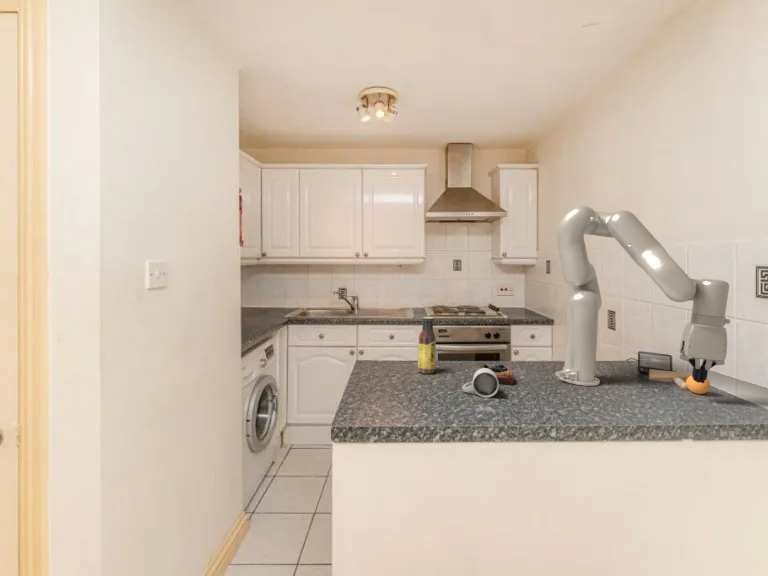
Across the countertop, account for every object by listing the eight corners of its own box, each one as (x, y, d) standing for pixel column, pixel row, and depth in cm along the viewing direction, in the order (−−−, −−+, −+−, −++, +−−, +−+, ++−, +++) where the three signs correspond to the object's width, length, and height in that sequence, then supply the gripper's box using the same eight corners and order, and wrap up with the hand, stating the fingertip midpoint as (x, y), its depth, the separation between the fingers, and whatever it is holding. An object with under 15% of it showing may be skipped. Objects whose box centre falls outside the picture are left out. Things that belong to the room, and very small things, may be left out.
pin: (688, 382, 125) (678, 375, 133) (679, 384, 125) (671, 377, 133) (691, 389, 124) (681, 382, 132) (683, 391, 125) (674, 384, 133)
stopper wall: (698, 385, 131) (698, 375, 131) (650, 380, 135) (651, 370, 135) (695, 383, 133) (696, 373, 133) (648, 378, 137) (649, 369, 137)
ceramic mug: (496, 390, 119) (497, 366, 119) (498, 398, 111) (499, 373, 111) (462, 387, 121) (462, 363, 121) (461, 395, 113) (462, 370, 113)
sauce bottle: (434, 375, 134) (436, 319, 132) (416, 373, 135) (418, 318, 134) (435, 370, 140) (437, 317, 139) (418, 369, 141) (420, 316, 140)
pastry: (477, 374, 137) (478, 358, 137) (512, 377, 134) (513, 361, 134) (477, 383, 127) (478, 366, 126) (515, 387, 124) (516, 369, 123)
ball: (692, 385, 126) (690, 398, 123) (683, 371, 125) (681, 384, 122) (714, 383, 122) (713, 397, 118) (705, 369, 121) (704, 383, 117)
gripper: (731, 322, 113) (722, 382, 115) (672, 316, 118) (664, 374, 120) (745, 326, 106) (736, 389, 108) (682, 319, 111) (674, 380, 112)
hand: (698, 381), depth 114 cm, fingers closed
